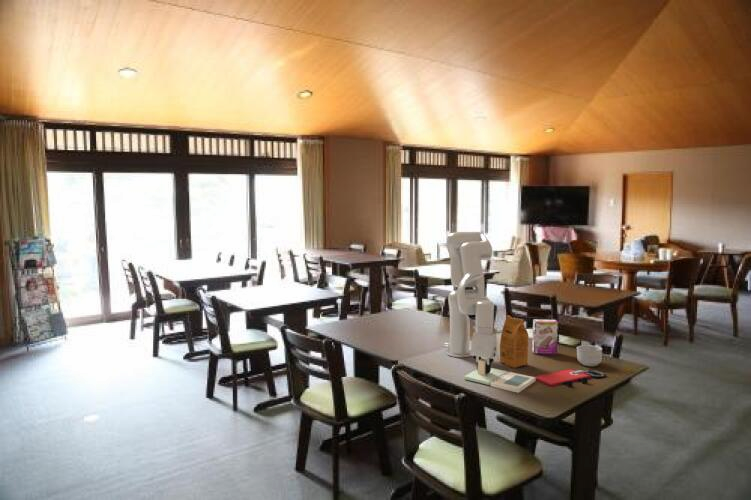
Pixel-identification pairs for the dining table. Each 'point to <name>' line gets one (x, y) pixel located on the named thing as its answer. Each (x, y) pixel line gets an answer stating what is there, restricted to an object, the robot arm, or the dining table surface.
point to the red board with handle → (567, 377)
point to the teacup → (589, 355)
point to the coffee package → (514, 343)
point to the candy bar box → (545, 336)
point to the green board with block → (481, 374)
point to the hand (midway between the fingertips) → (483, 371)
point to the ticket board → (513, 382)
